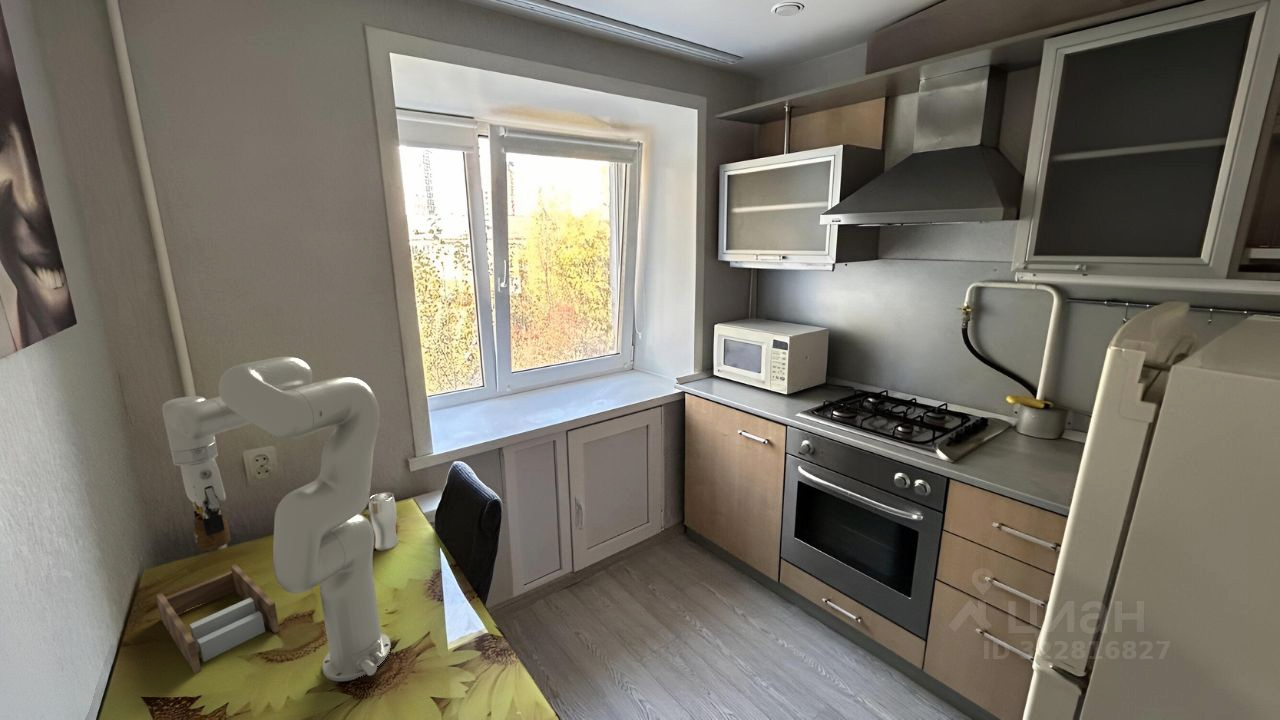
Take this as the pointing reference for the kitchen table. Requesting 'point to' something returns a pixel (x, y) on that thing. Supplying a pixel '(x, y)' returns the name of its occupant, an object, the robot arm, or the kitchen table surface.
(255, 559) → the kitchen table surface
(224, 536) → the utensil holder
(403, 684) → the kitchen table surface
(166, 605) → the rack
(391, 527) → the beer glass
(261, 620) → the offcut front
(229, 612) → the offcut near
